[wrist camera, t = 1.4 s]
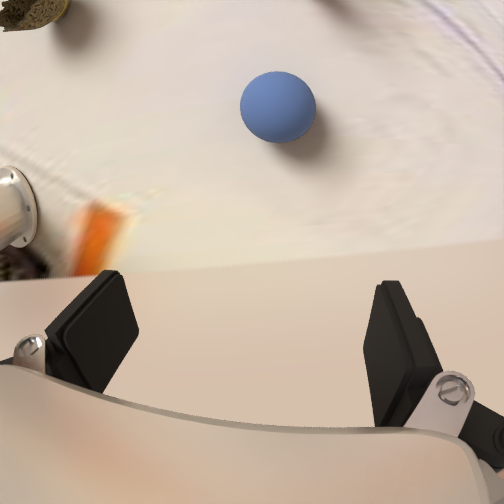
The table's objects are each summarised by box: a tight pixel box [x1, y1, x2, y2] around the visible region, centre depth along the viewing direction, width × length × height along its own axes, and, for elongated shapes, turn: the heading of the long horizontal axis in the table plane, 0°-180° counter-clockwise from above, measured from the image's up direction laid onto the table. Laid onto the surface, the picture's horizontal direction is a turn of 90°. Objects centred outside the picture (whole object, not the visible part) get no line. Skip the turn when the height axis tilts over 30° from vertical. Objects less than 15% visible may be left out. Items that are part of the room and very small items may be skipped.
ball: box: [240, 72, 316, 143], centre depth 22 cm, size 6×6×6 cm
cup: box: [0, 0, 69, 32], centre depth 17 cm, size 8×7×8 cm
